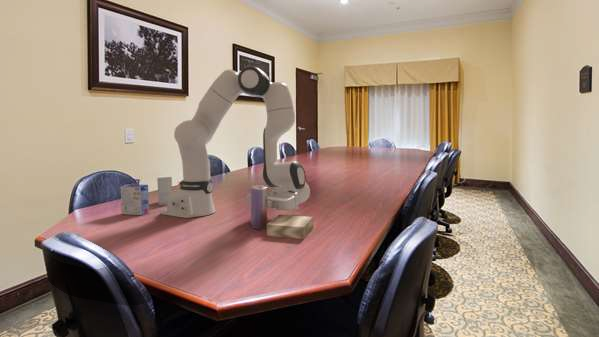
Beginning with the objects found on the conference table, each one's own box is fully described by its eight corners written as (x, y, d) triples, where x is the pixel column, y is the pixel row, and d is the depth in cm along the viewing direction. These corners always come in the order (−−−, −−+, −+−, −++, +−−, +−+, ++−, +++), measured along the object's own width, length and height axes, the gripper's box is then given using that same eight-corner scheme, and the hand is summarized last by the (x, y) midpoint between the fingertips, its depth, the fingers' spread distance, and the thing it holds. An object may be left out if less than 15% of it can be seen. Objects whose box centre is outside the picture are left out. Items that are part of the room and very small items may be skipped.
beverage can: (253, 230, 129) (254, 189, 126) (248, 225, 134) (248, 185, 131) (269, 228, 131) (270, 188, 129) (263, 223, 137) (264, 184, 134)
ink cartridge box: (150, 212, 155) (148, 179, 153) (142, 215, 150) (140, 181, 148) (130, 211, 157) (127, 178, 155) (121, 214, 152) (119, 180, 150)
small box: (173, 204, 170) (171, 177, 168) (158, 205, 168) (156, 177, 166) (172, 200, 177) (171, 174, 176) (158, 201, 175) (157, 175, 174)
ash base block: (266, 235, 123) (266, 224, 122) (279, 225, 135) (279, 214, 135) (303, 239, 119) (303, 227, 119) (313, 227, 132) (313, 217, 131)
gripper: (260, 187, 148) (235, 192, 137) (301, 193, 136) (277, 199, 125) (260, 202, 148) (236, 209, 137) (301, 209, 136) (277, 217, 125)
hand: (256, 204), depth 131 cm, fingers closed on beverage can, 2 cm apart
